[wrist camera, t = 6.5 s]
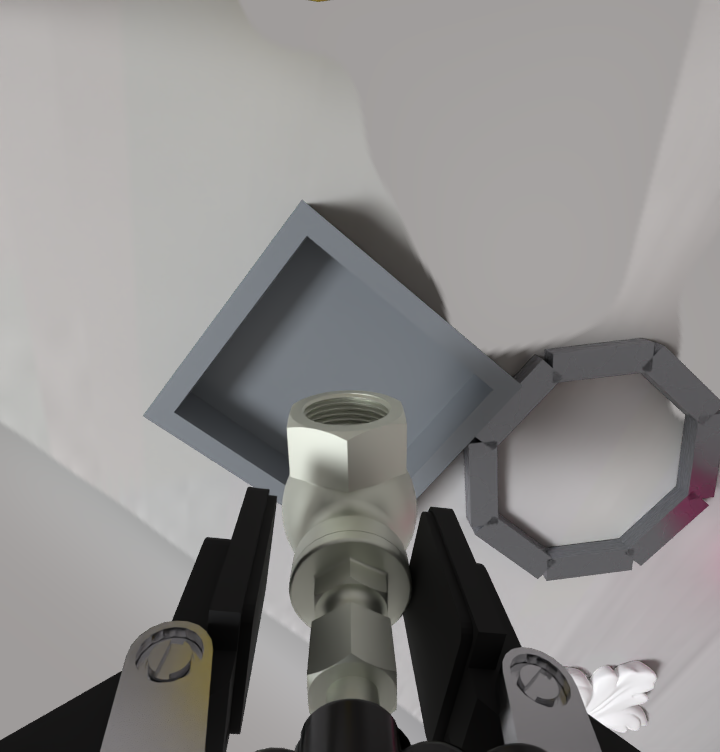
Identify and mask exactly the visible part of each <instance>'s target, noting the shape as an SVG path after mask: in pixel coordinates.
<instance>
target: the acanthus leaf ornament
mask: <svg viewBox="0 0 720 752" xmlns="http://www.w3.org/2000/svg"><path fill="white" fill-rule="evenodd" d="M564 668H565V669H566V670H567V671H568V672H569V674H570V675H571V676H572V678H573V680H574V681H575V683H576V685H577V687H578V690H579V692H580V695H581V698H582V700H583V703H584V706H585V708H586V711H587V713H588V714H589V715H590V716H592V717H593V718H595V719H596V720H597V721H599V722H600V723H602V724H603V725H604V726H606V727H608V728H611V729H613V730H616V731H618V732H621V733H625V732H626V731H627V728H628V729H630V730H633V731H637V730H639V729H640V726H641V725H642V726H646V725H647V724H648V721H647V719H646V715H645V713H644V711H643V709H642V708H641V707H640V706H638V705H639V704H643V703H645V702H647V701H648V699H649V698H648V696H647V695H646V693H645V692H648V691H650V690H652V689H653V688H654V687H655V684H654V683H655V681H656V680H657V675H656V674H655V672H654V671H653V670H652V669H651V668H649V667H648V666H647V665H645V664H644V663H642V662H641V661H632V662H628V663H625V664H620V665H619V666H617V667H616V668H615V669H614V670H613V669H612V668H611V667H610V666H607V665H606V666H602V667H600V668H598V669H597V670H596V671H595V672H594V673H593V674H592V676H591V678H590V680H588V679H587V677H586V676H585V674H584V673H583V672H582V671H580V670H579V669H577V668H571V667H564Z"/></svg>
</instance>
